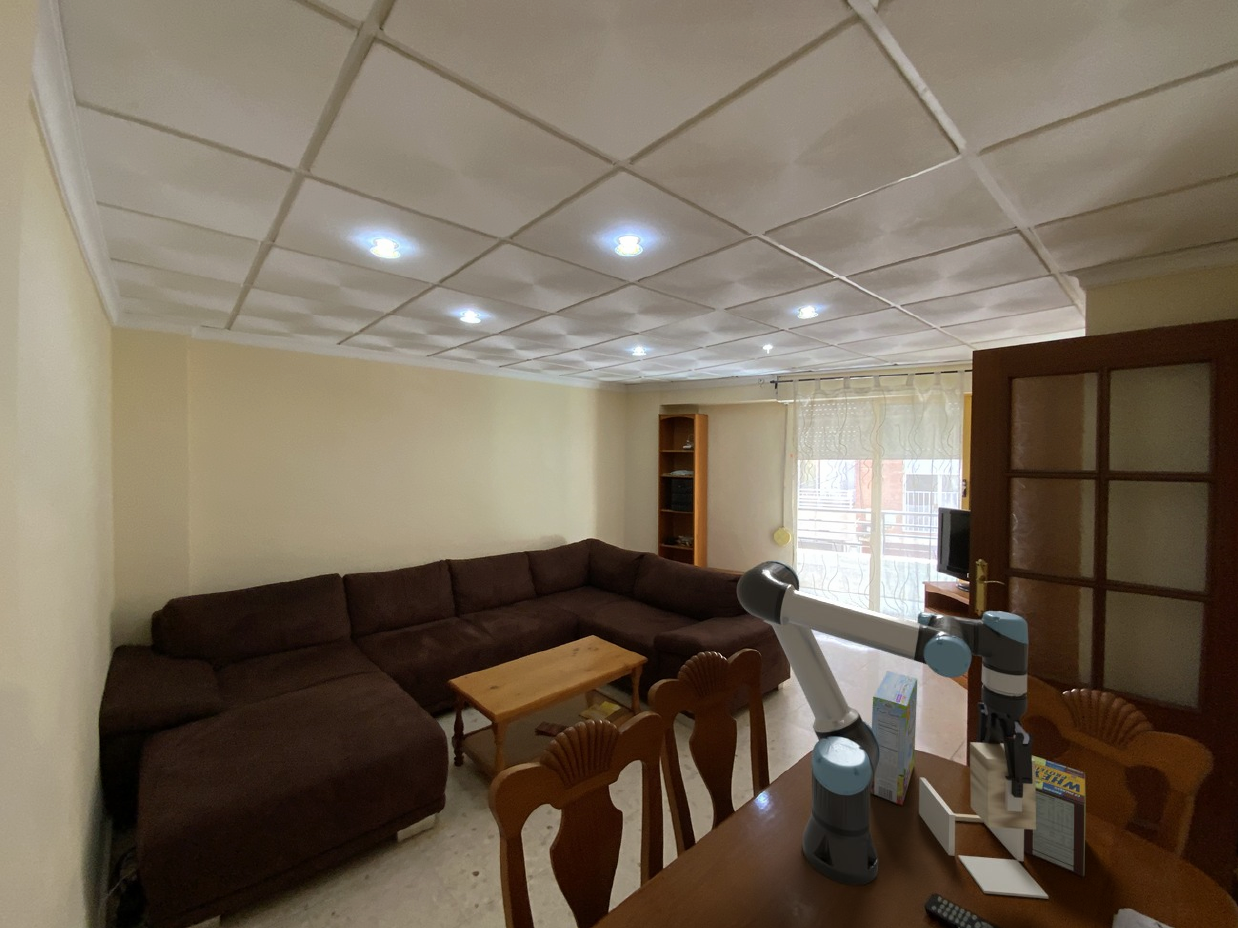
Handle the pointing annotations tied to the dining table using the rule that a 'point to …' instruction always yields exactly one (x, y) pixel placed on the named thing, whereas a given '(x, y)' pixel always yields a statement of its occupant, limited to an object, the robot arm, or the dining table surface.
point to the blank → (998, 789)
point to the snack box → (894, 735)
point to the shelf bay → (944, 820)
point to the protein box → (1058, 816)
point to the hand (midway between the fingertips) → (1002, 798)
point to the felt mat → (1002, 877)
